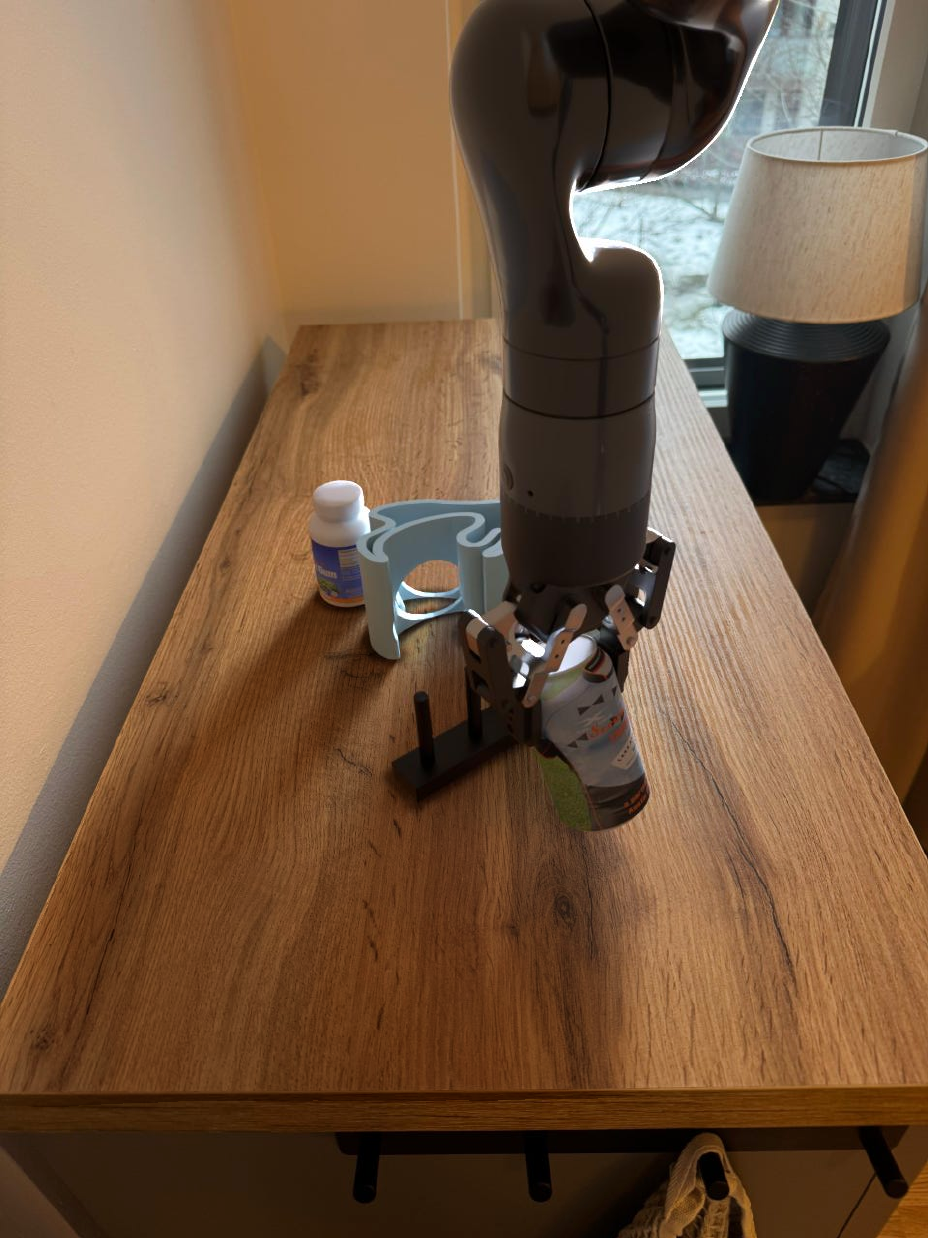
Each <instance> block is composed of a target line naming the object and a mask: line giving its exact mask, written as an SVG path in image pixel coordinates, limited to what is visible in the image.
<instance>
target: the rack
mask: <svg viewBox="0 0 928 1238" xmlns="http://www.w3.org/2000/svg"><path fill="white" fill-rule="evenodd" d="M463 673H464V675H463V676H464V677H463V678H464V689H465V690H464V691H465V706H466V719H464V720H462V721H461V722H459V723H457V724H455V725H453V726H451V727H450V728H448V729H447V730H445V731H443V732H441V733H440V734H438V735H436V736H434V733H433V724H432V723H433V722H432V713H431V704H430V694H429V693H428V692H427V691H425V690H418V691H416V692H414V693H413V696H412V701H413V707H414V708H413V710H414V717H415V718H414V719H415V726H416V727H415V728H416V735H417V745H418V746H417V747H415V748H413V749H411V750H410V751H408V752H406V753H404V754H403V755H401V756H399V757H397V758H395V759H393V760H392V761H390V764H391V765H390V766H391V770H392V777H393V779H395V780H396V781H397V783H398V784H399V785H400V786H401V787H402V788H403V789H404V790H405V791H406V792H407V793H408V795H410V796H411V798H412V799H413V800H415V802H416V803H417V804H420V802H422V801H424V800H425V799H427V798H429V797H431V796H433V795H434V794H435V793H437V792H439V791H441V790H442V789H444V788H445V787H447V786H449V785H451V784H452V783H454V782H456V781H457V780H459V779H461V778H462V777H464V776H465V775H467V774H468V773H470V772H472V771H473V770H475V769H477V768H479V767H481V766H482V765H483V764H485V763H486V762H489V761H490V760H492V759H493V758H495V757H497V756H498V755H500V754H502V753H504V752H505V751H507V750H509V749H511V748H512V747H514V746H515V745H517V744H519V742H518V741H517V740H516V739H515V738H514V737H512V736H511V735H510V734H509V733H508V732H507V731H506V730H505V728H504V727H503V714H500V713H499V712H497V711H496V710H495V709H494V708H493V707H492V706H491V705H489V706H487V707H485V708H484V709H482V697H480V696H479V695H478V694H477V693H476V692H475V691H474V690H473V689H472V688H471V685H470V681H469V676H468V672H467V667H466V665H465V666H464V667H463Z"/></svg>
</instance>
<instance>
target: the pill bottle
mask: <svg viewBox="0 0 928 1238" xmlns="http://www.w3.org/2000/svg"><path fill="white" fill-rule="evenodd" d="M312 503H313V510H314V512H313V513H312V514H311V516H310V518H309V519H308V525H307V528H308V535H309V540H310V546H311V553H312V556H313V564H314V571H315V575H316V576H315V577H316V581H317V586H318V591H319V594H320V597H321V598H322V599H323V601H325V602H326V603H328V604H329V605H332V606H335V607H340V608H353V607H359V606H361V605H365V601H364V594H363V587H362V580H361V573H360V567H359V560H358V553H357V546H356V543H357V541H358V539H359V538H360V537H361V536H363V535H365V534H367V533H369V532H370V525H369V517H368V512H369V511H370V510H371V509H369V508H368V507H367V506H365V500H364V494H363V489H362V487H361V486H360V485H358V483H355V482H353V481H349V480H333V481H328V482H325V483H323V484H321V485H319V486H317V488H315V490H314V491H313V493H312Z"/></svg>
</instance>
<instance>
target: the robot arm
mask: <svg viewBox="0 0 928 1238" xmlns="http://www.w3.org/2000/svg"><path fill="white" fill-rule="evenodd" d="M780 2H781V0H480V2H478V4H477V5H476V6H475V8H474V9H473V11H472V12H470V14H469V16H468V17H467V19H466V21H465V23H464V25H463V27H462V28H461V31H460V32H459V36H458V39H457V41H456V44H455V47H454V50H453V54H452V59H451V65H450V69H449V76H448V103H449V112H450V113H449V114H450V119H451V125H452V130H453V133H454V137H455V141H456V146H457V149H458V152H459V155H460V158H461V162H462V165H463V169H464V172H465V175H466V178H467V181H468V184H469V187H470V190H471V192H472V197H473V199H474V202H475V206H476V209H477V212H478V215H479V219H480V222H481V226H482V230H483V235H484V239H485V242H486V247H487V250H488V254H489V259H490V263H491V267H492V271H493V275H494V279H495V284H496V289H497V295H498V299H499V307H500V317H501V318H500V321H501V322H500V327H501V328H500V331H501V333H500V334H501V335H500V336H501V340H500V342H501V385H502V388H501V389H502V391H501V393H502V394H501V405H500V412H499V421H498V431H497V432H498V434H497V435H498V440H497V442H498V443H497V444H498V477H499V478H498V479H499V480H498V482H499V499H500V523H501V547H502V551H503V554H504V558H505V561H506V564H507V567H508V571H509V578H508V582H507V585H506V588H505V590H504V592H503V596H502V603H501V604H499V605H498V606H496V607H495V608H493V609H492V610H490V611H488V612H487V613H485V614H484V615H482V616H481V617H480V616H479V615H478V614H477V613H475V612H474V611H473V610H467V611H465V612H464V611H463V612H462V613H461V614H460V615H459V616H458V619H457V622H456V627H457V631H458V637H459V640H460V645H461V649H462V653H463V658H464V663H465V666H466V667H467V672H468V676H469V681H470V685H471V688H472V689H473V690H474V691H475V692H476V693H477V694H478V695H479V696H480V697H481V699H482V700H483V701H484V702H485V703H487V704H488V705H489V706H492V707H493V708H494V709H495V710H496V711H497V712H499V713H500V714H503V727H504V728H505V730H506V731H507V732H508V733H509V734H510V735H511V736H512V737H514V738H515V739H516V740H517V741H518V744H520V745H522V744H523V745H524V746H526V747H527V748H529V749H532V748H534V747H533V746H535V745H537V744H538V743H540V742H541V708H542V700H540V699H539V698H540V695H541V693H542V690H543V688H544V685H545V683H546V680H547V678H548V675H549V674H550V673H553V672H557V671H558V670H559V668H560V666H561V663H562V661H563V658H564V656H565V653H566V651H567V648H568V646H569V644H570V643H572V642H573V641H574V640H575V639H577V638H578V637H579V636H580V635H582V634H584V633H587V632H591V631H593V630H595V629H597V630H598V631H600V634H598V635H596V636H594V637H593V639H594V640H595V642H596V645H597V646H598V647H600V648H601V649H603V650H604V651H605V652H606V653H607V654H608V655H609V657H610V659H611V661H612V664H613V667H614V671H615V674H616V677H617V681H618V684H619V687H620V691H621V694H623V693H624V691H625V683H626V681H627V678H628V675H629V668H630V667H629V666H630V663H629V662H630V655H631V649H633V648H634V647H635V645H636V644H637V642H638V640H639V633H640V631H641V630H643V629H644V628H645V629H646V630H648V631H649V630H653V629H655V627H656V626H657V625H658V624H659V622H660V621H661V617H662V612H663V608H664V604H665V599H666V595H667V589H668V585H669V581H670V576H671V572H672V567H673V563H674V558H675V554H676V549H677V544H676V542H675V541H672V540H671V539H669V538H668V537H667V536H665V535H663V534H662V533H660V532H659V531H657V530H655V529H653V528H650V527H649V519H650V509H651V499H652V488H653V476H654V467H655V457H656V447H657V431H658V430H657V412H656V411H657V410H656V385H657V376H658V366H659V365H658V364H659V355H660V343H661V334H662V333H661V331H662V319H663V307H664V283H663V279H662V273H661V270H660V267H659V266H658V263H657V262H656V260H655V259H654V258H653V257H652V256H651V255H650V254H649V253H647V252H646V251H644V250H643V249H641V248H639V247H637V246H634V245H632V244H629V243H626V242H621V241H615V240H609V239H602V238H588V237H586V238H585V237H579V236H578V233H577V230H576V229H577V228H576V227H575V223H574V218H573V212H572V211H573V198H574V196H575V195H581V194H586V193H592V192H598V191H599V192H600V191H603V190H609V189H615V188H621V187H626V186H631V185H636V184H637V185H638V184H642V183H647V182H651V181H656V180H659V179H662V178H664V177H667V176H669V175H672V174H673V173H675V172H677V171H679V170H681V169H682V168H684V167H685V166H687V165H688V164H689V163H690V162H692V161H693V160H695V159H696V158H697V157H699V156H700V155H701V153H703V152H704V151H705V150H707V148H708V147H709V146H710V145H711V144H713V142H714V141H715V140H716V139H717V138H718V137H719V136H720V134H721V133H722V132H723V130H724V129H725V127H726V125H727V124H728V122H729V121H730V119H731V117H732V115H733V113H734V111H735V109H736V106H737V104H738V102H739V100H740V97H741V96H742V93H743V90H744V88H745V85H746V84H747V82H748V78H749V76H750V74H751V71H752V69H753V67H754V65H755V62H756V60H757V58H758V55H759V53H760V50H761V49H762V47H763V44H764V42H765V39H766V37H767V35H768V32H769V31H770V27H771V25H772V23H773V21H774V17H775V15H776V13H777V10H778V7H779V5H780ZM640 590H641V591H642V592H643V593H644V595H645V597H644V602H643V601H642V600H640V599H639V593H640ZM529 632H530V634H531V635H532V636H534V637H535V638H537V639H538V640H539V642H540V641H542V642H543V643H545V644H546V647H545V649H544V650H543V649H542V648H541V647H539V646H538V645H537V644H536V642H534V641H533V640H532V638H531V635H530V634H529ZM524 662H525V663H526V664H527V665H528V667H529V671H528V674H527V677H526V679H525V678H523V677H522V676H521V675H520V674H519V673H520V671H521V668H522V666H523V663H524Z"/></svg>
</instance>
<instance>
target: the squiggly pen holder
mask: <svg viewBox="0 0 928 1238" xmlns="http://www.w3.org/2000/svg"><path fill="white" fill-rule="evenodd" d="M369 510H370V511H369V512H368V517H369V525H370V532H369V533H367V534H365V535H363V536H361V537H360V538H359V539H358V541H357V543H356V546H357V553H358V560H359V567H360V573H361V580H362V587H363V594H364V601H365V604H364V607H365V613H366V620H367V627H368V633H369V640H370V645H371V647H372V648H373V650H374V651H375V652H376V653H377V654H378V655H380V656H381V657H383V658H386V659H387V660H399V659H400V658H401V652H400V643H399V642H400V641H399V635H401V634H402V633H403V632H404V631H406V630H407V629H410V628H411V627H412V626H415V625H416V624H419V623H421V622H423V621H425V620H429V619H432V618H435V617H438V616H442V615H448V614H454V613H459V612H463V613H464V612H465V611H467V610H473V611H474V612H475V613H477V614H478V615H479V616H480V617H481V616H482V615H484V614H485V613H487V612H488V611H490V610H492V609H493V608H495V607H496V606H498V605H499V604H501V603H502V596H503V592H504V590H505V588H506V585H507V582H508V578H509V571H508V567H507V564H506V561H505V558H504V554H503V551H502V547H501V523H500V498H497V499H485V500H450V499H448V500H447V499H434V498H433V499H432V498H428V499H427V498H426V499H425V498H424V499H412V500H411V499H410V500H403V501H402V500H401V501H395V502H389V503H385V504H382V505H378V506H376V507H373V508H372V509H369ZM432 561H442V562H443V561H444V562H447V563H451V564H453V565H455V566H456V567H457V568H458V583H459V584H458V586H456V587H455V588H454V589H452V590H451V589H450V590H447V591H443V592H423V591H420V590H417V589H414V588H412V587H411V586H409V585H407V584H406V582H405V579H406V578H407V577H408V575H410V573H412V571H414V570H415V569H416V568H417V567H418V566H421V565H423V564H426V563H427V562H432ZM424 598H425V599H426V598H447V599H456V600H455V601H454V602H453V603H452V604H450V605H448V606H446V607H445V608H442V609H439V610H437V611H434V612H429V613H424V614H423V613H421V614H419V613H409V612H406V605H405V603H404V601H408V600H413V599H414V600H415V599H424ZM530 634H531V633H530V632H529V635H530ZM584 634H585V635H588V636H590V637H592V638H593V637H594V636H596V635H598V634H600V631H598V630H597V629H595V630H593V631H591V632H587V633H584Z"/></svg>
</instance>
